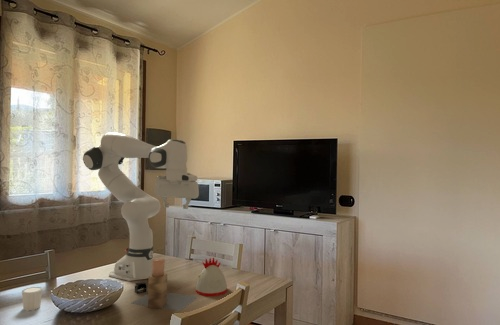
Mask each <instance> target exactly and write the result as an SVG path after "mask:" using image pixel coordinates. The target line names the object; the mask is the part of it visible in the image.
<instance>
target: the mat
mask: <svg viewBox="0 0 500 325" xmlns="http://www.w3.org/2000/svg"><path fill="white" fill-rule="evenodd" d="M197 298H198V296H194V295H188V294H183V293H182V294H181V293H175V292H168V291H167V303H166V304H165V305H164V307H163V308H162V309H163V310H168V311H169V310H170V311H177V312H181V311H182V310H184V309H185V308H186V307H187V306H189V304H191V303H192V302H194V301H195V300H197ZM130 304H132V305H139V306H145V307H148V292H147V293H145V295H142V296H140V297H139V298H137V299H135V300H134V301H132V302H131V303H130Z"/></svg>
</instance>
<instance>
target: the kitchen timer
mask: <svg viewBox="0 0 500 325" xmlns="http://www.w3.org/2000/svg"><path fill="white" fill-rule="evenodd" d="M202 265H203V267H204V268H203V269H202V270H201V272H200V273H199V275H198V277H197V279H196V283H195V284H196V285H195V293H196V294H197V295H200V296H205V297H216V296H221V295H224V294H226V293H227V292H228V291H227V290H228V287H227V286H228V285H227V281H226V277H225V274H224V273H223V271H222V269H221V268H220V266H221V262H220V261H219V262H218V259H216V260H215V258H214V257H209V260H208V259H207V258H205V262H204V261H202Z"/></svg>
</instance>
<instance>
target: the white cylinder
mask: <svg viewBox="0 0 500 325" xmlns="http://www.w3.org/2000/svg"><path fill="white" fill-rule="evenodd" d="M21 294H22V295H21V296H22V307H23V308H22V309H24V310H23V311H25V310H32V311H35V310H34V309H36V310H38V309H40V308H41V303H42V296H43V295H42V294H43V288H42V287H41V286H32V287H26V288H24V289H22V290H21ZM39 307H40V308H39ZM37 308H38V309H37Z"/></svg>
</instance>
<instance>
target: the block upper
mask: <svg viewBox="0 0 500 325" xmlns="http://www.w3.org/2000/svg"><path fill="white" fill-rule="evenodd" d="M147 289H148V292H155V293H162V292H164V291H165V290H166V289H167V290H168V273H167V272H164V276H160V277H154V276H152V275H150V276H149V278H148V286H147ZM148 292H147V293H148Z"/></svg>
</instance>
